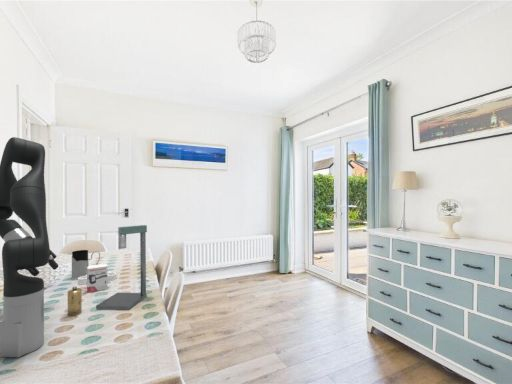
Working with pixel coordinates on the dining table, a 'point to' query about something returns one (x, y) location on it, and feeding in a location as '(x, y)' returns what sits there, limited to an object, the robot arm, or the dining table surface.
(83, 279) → the white brass knuckles
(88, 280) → the ink box
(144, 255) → the stand
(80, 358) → the dining table surface
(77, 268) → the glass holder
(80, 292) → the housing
